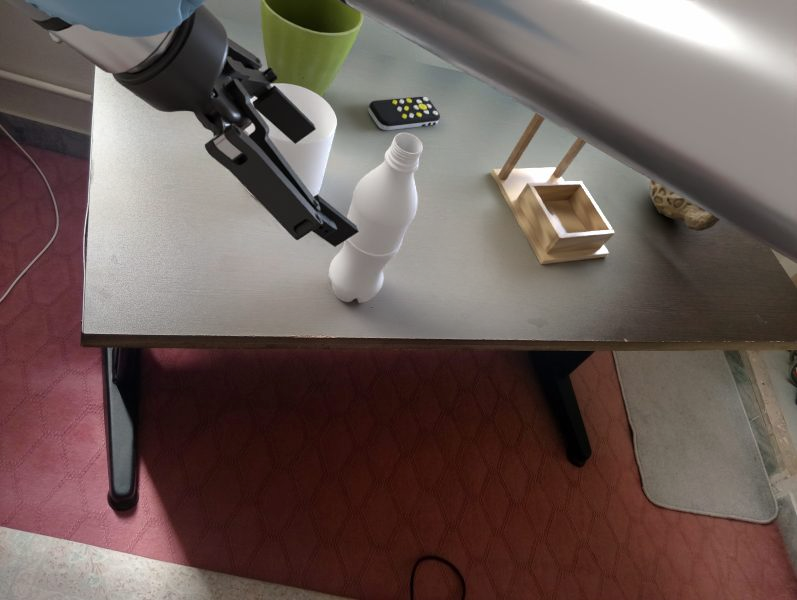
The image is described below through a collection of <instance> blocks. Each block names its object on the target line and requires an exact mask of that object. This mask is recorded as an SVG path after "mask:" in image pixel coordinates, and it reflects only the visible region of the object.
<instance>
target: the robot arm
mask: <svg viewBox="0 0 797 600" xmlns="http://www.w3.org/2000/svg"><path fill="white" fill-rule="evenodd" d="M4 1H5V2H7V3H8V4H9V5H11V6H13V7H14V8H16V9H17V10H18V11H20V12H21V13H22V14H24V15H26V16H27V17H28V18H29V19H30V20H32V21H33V22H34V23H35V24H37V25H38V26H40V27H41V28H42V29H44V30H46V31H47V32H49V36H50V37H51V39H52V41H53V42H55V43H56V44H58V45H67V47H69V48H71V49H72V50H73V51H75V52H76V53H78V54H79V55H80V56H81V57H83V58H84V59H86V60H87V61H88V62H90V63H92V64H93V65H94V66H96V67H97V68H99V69H100V70H101V71H103V72H104V73H108V74H111V75H112V77H113V78H114V80H115V81H116V82H117V84H119V85H121V86H122V87H124V88H125V89H127V90H128V91H129V92H131V93H132V94H134V95H135V96H136V97H138V98H139V99H140V100H142V101H143V102H144V103H146V104H148V105H149V106H150V107H151V108H153V109H155V110H157V111H160V112H162V113H163V112H164V113H176V112H177V113H178V112H190V113H193V114H194V116H195V118H196V119H197V120H198V121H199V122H200V124H201V125H202V127H203V128H205V129H206V130H208V131H210V132H211V133H212V135H213V137H212V138H211V139H210V140H208V141H207V142H206V143H205V144H204V148H205V150H206V151H207V153H208V155H209V156H210V157H211V158H213V159H214V160H215V161H216V162H217V163H219V164H220V165H222V166H223V167H224V168H225V169H227V170H228V171H229V172H230V173H231V174H232V175H233V176H234V177H235V178H236V179H237V180H238V182H240V183H241V185H242V186H243V185H244V186H245V187H246V188H247V189H248V191H249V192H250V193H251V194H252V195H253V196H254V197H255V198H254V197H253V196H252V195H251V194H250V193H249V192H248V191H247V192H248V193H249V194H250V195H251V196H252V197H253V198H254V199H256V200H257V201H258V202H259V204H261V206H262V207H263V208H264V209H266V210H267V212H268V213H269V214H270V215H271V216H272V217H273V218H274V219H275V220H276V221H277V222H278V223H279V224H280V226H281V227H283V229H285V230H286V232H287V233H288V234H289V235H290V236H291V237H292V238H293V239H294V240H296V241H299V240H300V239H302V238H303V237H305V236H307V235H308V234H310V233H314V234H315V235H317V237H319V238H321V239H323V240H324V241H326V242H327V243H328V244H330V245H331V246H333V247H334V248H335V247H338V246H339V245H341V244H342V243H344V241H345V240H347V239H348V238H350V237H352V236H353V235H355V234H356V233H358V232H359V231H358V229H357V226H356V225H355V224H354V223H352V222H351V221H350V220H349V219H347V218H346V217H347V216H345V215H344V214H343V213H342V212H340V211H339V210H337V209H336V208H335V207H334V206H333V205H331V204H330V203H329V202H328V201H326V200H325V199H324V198H322V196H320V195H319V194H317V195H316V196H314V197H313V196H312V194H311V193H310V192H309V190H308V189H307V188H306V186H305V185H304V184H303V182H302V181H301V180H300V178H299V177H298V176H297V174H296V173H295V172H294V170H293V169H292V168H291V166H290V165H289V164H288V162H287V161H286V160H285V158H284V157H283V156H282V154H281V153H280V152H279V150H278V149H277V147H276V146H275V145H274V143H273V142H272V141H271V139H270V138H269V136H268V134H269V131H270V130H269V127H268V125H267V124H266V122H265V121H264V119H263V118H262V117H261V115H260V114H259V113H258V111H259V112H260V113H261V114H262V115H263V116H264V117H265V118H267V119H268V120H269V121H270V122H271V123H272V124H273V125H274V126H276V127H277V128H278V129H279V130H280V131H281V132H282V133H283V134H285V135H286V136H287V137H288V138H289V139H290V140H291V141H292V142H293V143H295V144H296V143H297V142H299V141H300V140H302V139H303V138H304V137H306V136H307V135H309V134H310V133H311V132H313V131H314V130H316V128H315V126H314V124H313V123H312V122H311V121H310V120H309V119H308V118H307V117H306V116H305V115H304V114H303V113H302V112H301V111H300V110H299V109H298V108H297V107H296V106H295V105H294V104H293V103H292V102H291V101H290V100H289V99H288V98H287V97H286V96H285V95H284V94H283V93H282V92H281V91H280V90H279V89H278V88H277V87H276V86H275V85H274V86H273V87H271V86H270V84H272V83H273V82H274V81H275V80H277V79H278V77H277V75H276V73H275V72H274V70H273V69H272V68H271V67H269V68H268V67H267V68H266V69H265V70H264V71H261V70H260V69H262V68H263V64H262V60H261V59H260V58H259V57H257V56H256V55H255V54H254V53H252V52H251V51H249V50H248V49H246V48H245V47H243V46H242V45H240V44H238V43H237V42H235V41H234V40H233V39H231V38H229V37H228V33H227V30H226V28H225V26H224V25H223V23H222V22H221V21H220V20H219V19H218V18H217V17H216V16H215V15H214V14H213V13H212V12H211V10H209V9H208V8H207V6H205V5H204V4H205V1H206V0H4ZM338 1H340V2H342V3H343V4H345V5H347V6H349V7H351V8H353V9H355V10H357V11H359V12H361V13H363V16H364V15H365V16H366V17H368V18H369V19H371V20H373V21H375V22H376V23H378V24H380V25H381V26H384V27H385V28H387V29H389V30H390V31H392V32H394V33H396V34H398V35H399V36H401V37H402V38H404V39H406V40H408V41H409V42H411V43H413V44H414V45H416V46H417V47H420V48H422V49H423V50H424V51H426V52H429V53H430V54H432V55H434V56H436V57H437V58H438V59H441V60H443V61H444V62H446V63H447V64H449V65H451V66H453V67H455V68H456V69H458V70H460V71H462V72H463V73H465V74H467V75H468V76H470V77H472V78H474V79H475V80H477V81H479V82H481V83H482V84H484V85H486V86H488V87H489V88H490V89H493V90H494V91H497V92H498V93H500V94H502V95H503V96H504V97H507V98H508V99H510V100H512V101H514V102H515V103H517V104H519V105H521V106H522V107H524V108H526V109H528V110H529V111H531V112H532V113H534V114H535V113H536V114H538V115H540V116H541V117H543V118H545V119H544V120H547V121H549V122H550V123H552V124H554V125H556V126H557V127H559V128H561V129H563V130H564V131H565V132H568V133H570V134H571V135H572V136H575V137H576V138H580V139H581V140H583V141H585V142H586V144H588V145H590V146H592V147H593V148H595V149H597V150H599V151H601V152H602V153H604V154H606V155H607V156H609V157H611V158H613V159H614V160H616V161H618V162H620V163H621V164H623V165H625V166H627V167H628V168H629V169H630V168H631V169H632V170H634V171H635V172H637V173H639V174H641V175H642V176H644V177H646V178H647V179H649V180H650V179H651V180H653V181H654V182H656V183H658V184H660V185H661V186H663V187H665V188H666V189H668V190H670V191H672V192H673V193H675V194H677V195H679V196H680V197H682V198H684V199H686V200H687V201H689V202H691V203H693V204H694V205H696V206H698V207H699V208H701V209H703V210H705V211H706V212H708V213H710V214H712V215H713V216H715V217H717V218H719V219H720V220H719V221H722V222H724V223H725V224H728V225H729V226H731V227H733V228H734V229H736V230H738V231H739V232H741V233H743V234H745V235H746V236H748V237H750V238H752V239H753V240H755V241H757V242H758V243H760V244H762V245H763V246H766V247H767V248H769V249H771V250H772V251H774V252H776V253H778V254H779V255H781V256H783V257H785V259H786V258H787V259H788V260H790V261H792V262H793V263H795V264H797V0H338ZM254 96H255V97H257V99H256V100H255V101H253V105H254V106H253V105H252V103H251V102H250V99H252V98H253V97H254ZM257 110H258V111H257ZM252 123H253V124H254V126H255V130H254V132H252V133H251V134H250V135H249V134H248V133H247V131H245V129H246V128H247V127H249V126H250V125H251V124H252ZM244 186H243V187H244Z"/></svg>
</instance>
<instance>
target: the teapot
mask: <svg viewBox="0 0 797 600" xmlns="http://www.w3.org/2000/svg"><path fill="white" fill-rule="evenodd" d="M648 183H649V190H650V191H649V192H650V198H651V201H652V202H653V204H654V207H655V209H656V210H657V212H658V213H659V214H661V215H664V216H665V217H667V218H670V219H673V220H676V221H678V222H679V221H680V222H684V223H685V225H686V227H687V228H689V229H690V230H693V231H697V232H702V231H705V230H708V229H710V228H712V227H714V226H715V225H716V224H717V223H718V222H719V221H721V220H720V219H719V218H717V217H715V216H713V215H712V214H710V213H708V212H706V211H705V210H703V209H701V208H699V207H698V206H696V205H694V204H693V203H691V202H689V201H687V200H686V199H684V198H682V197H680V196H679V195H677V194H675V193H673V192H672V191H670V190H668V189H666V188H665V187H663V186H661V185H660V184H658V183H656V182H654V181H653V180H651V179H649V181H648Z"/></svg>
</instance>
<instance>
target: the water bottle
mask: <svg viewBox="0 0 797 600" xmlns="http://www.w3.org/2000/svg"><path fill="white" fill-rule="evenodd" d="M423 150H424V145H423V143H422V140H421V139H419V138H418V137H417V136H416V135H415V134H412V133H408V132H400V133H397V134H396V135H395V136H394V138H393V140H392V142H391V145H390V146H389V147H388V149H387V150H386V151H385V153H384V160H383V162H382V163H380V164H379V165H378V166H376V167H375V168H373V169H372V170H370V171H369V172H367V173H366V174H365V175H364V176H363V177H362V178H361V179H360V180H359V181H358V183H357V184H356V186H355V188H354V190H353V193H352V199H351V203H350V206H349V208H348V212H347V215H346V216H345V217H346V218H347V219H349V220H350V221H351V222H352V223H354V224H355V225H356V226H357V229H358V231H359V232H358V233H356V234H355V235H353V236H352V237H350V238H348V239H347V240H345V241H344V242H343V246H342V248H340V251H338V253H337V254H336V255H335V256H334V257H333V258H332V260H331V262H330V264H329V269H328V281H329V283H330V284H331V289H332V292H333V293H334V295H335V296H336V298H338V299H339V300H340V301H342V302H345V303H351V302H352V301H353V300H355V299H356V301H357V303H358V304H364V303H367V302H368V301H370V300H371V299H373V298H374V297H376V296H377V294H378V293H379V292H380V290H381V289H382V287H383V284H384V277H385V276H384V272H383V271H384V269H385V267H386V265H387V264H388V263H389V262H390V261H391V260H392V259H393V258H394V257H395V256H396V255H397V254H398V252H399V251H400V249H401V246H402V245H403V240H404V237H405V235H406V233H407V231H408V229H409V226H410V224H411V222H413V220H414V219H415V217H416V214H417V210H418V205H419V204H418V202H419V201H418V190H417V186H416V182H415V177H414V176H415V175H414V174H415V173H416V171H417V170H418V168H419V166H420V157H421V155H422V152H423Z"/></svg>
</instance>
